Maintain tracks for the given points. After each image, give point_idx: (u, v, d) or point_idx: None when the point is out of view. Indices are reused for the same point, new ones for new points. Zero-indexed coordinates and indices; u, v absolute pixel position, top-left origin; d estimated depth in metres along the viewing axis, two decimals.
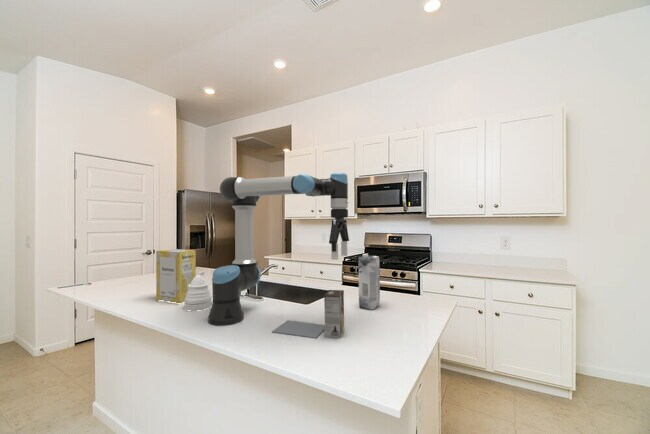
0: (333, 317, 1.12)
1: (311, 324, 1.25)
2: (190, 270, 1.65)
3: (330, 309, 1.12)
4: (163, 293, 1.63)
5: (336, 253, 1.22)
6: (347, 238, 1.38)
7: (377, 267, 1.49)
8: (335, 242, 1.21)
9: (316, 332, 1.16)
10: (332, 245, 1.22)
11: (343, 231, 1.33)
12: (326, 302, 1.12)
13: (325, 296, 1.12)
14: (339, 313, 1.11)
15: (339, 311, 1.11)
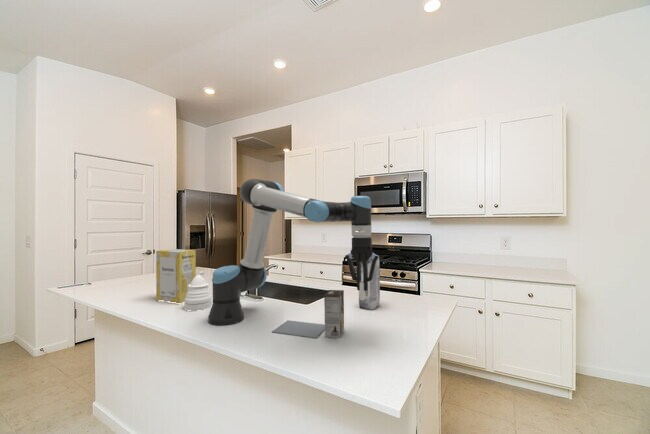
0: (333, 318, 1.12)
1: (311, 324, 1.25)
2: (190, 270, 1.65)
3: (330, 309, 1.12)
4: (163, 293, 1.63)
5: None
6: (368, 278, 1.11)
7: (377, 267, 1.49)
8: (356, 280, 1.12)
9: (316, 332, 1.16)
10: None
11: None
12: (326, 302, 1.12)
13: (325, 296, 1.12)
14: (339, 313, 1.11)
15: (339, 311, 1.11)
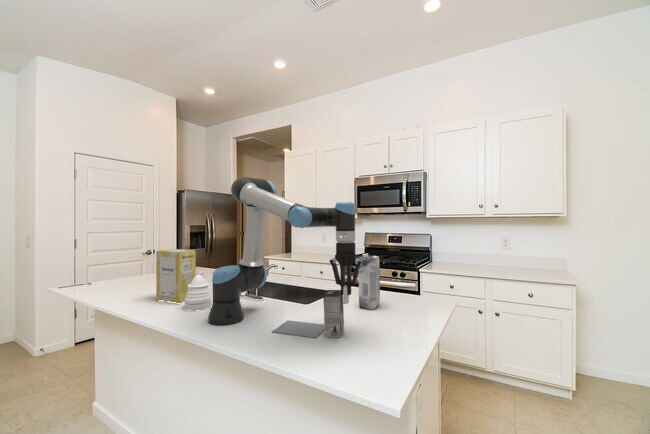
0: (333, 317, 1.12)
1: (311, 324, 1.25)
2: (190, 270, 1.65)
3: (329, 309, 1.12)
4: (163, 293, 1.63)
5: None
6: (351, 282, 1.13)
7: (377, 267, 1.49)
8: (340, 284, 1.15)
9: (316, 332, 1.16)
10: None
11: None
12: (325, 302, 1.12)
13: (324, 296, 1.12)
14: (338, 313, 1.12)
15: (338, 311, 1.12)
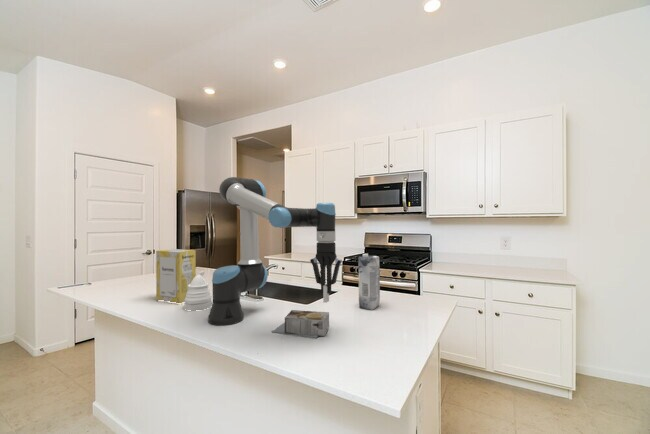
0: (305, 325, 1.14)
1: None
2: (190, 270, 1.65)
3: (297, 328, 1.15)
4: (163, 293, 1.63)
5: None
6: (331, 281, 1.16)
7: (377, 267, 1.49)
8: (320, 283, 1.17)
9: None
10: None
11: None
12: (291, 331, 1.15)
13: (285, 331, 1.16)
14: (300, 319, 1.15)
15: (299, 319, 1.15)
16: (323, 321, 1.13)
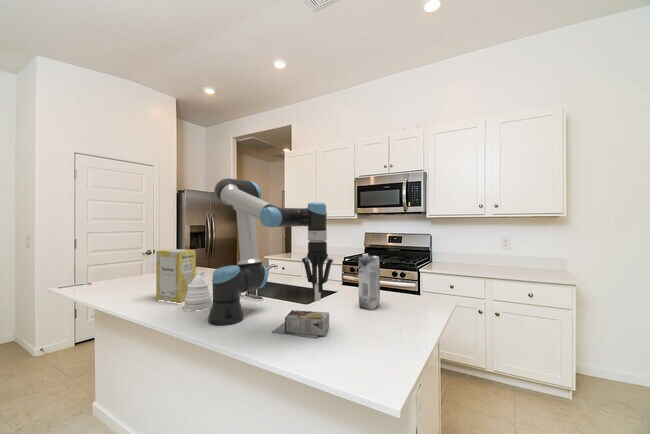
0: (305, 325, 1.14)
1: None
2: (190, 270, 1.65)
3: (297, 327, 1.15)
4: (163, 293, 1.63)
5: None
6: (322, 280, 1.17)
7: (377, 267, 1.49)
8: (312, 282, 1.19)
9: None
10: None
11: None
12: (291, 331, 1.15)
13: (285, 331, 1.16)
14: (301, 319, 1.15)
15: (299, 318, 1.15)
16: (323, 321, 1.13)
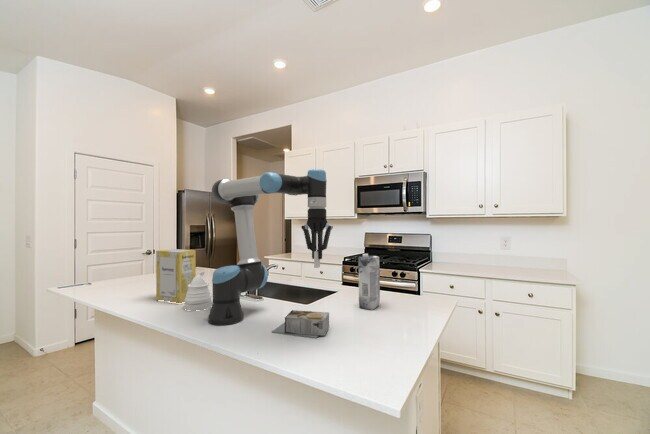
0: (305, 325, 1.14)
1: None
2: (190, 270, 1.65)
3: (297, 327, 1.15)
4: (163, 293, 1.63)
5: None
6: (322, 247, 1.17)
7: (377, 267, 1.49)
8: (311, 249, 1.19)
9: None
10: None
11: None
12: (291, 331, 1.15)
13: (285, 331, 1.16)
14: (301, 319, 1.15)
15: (299, 318, 1.15)
16: (323, 321, 1.13)
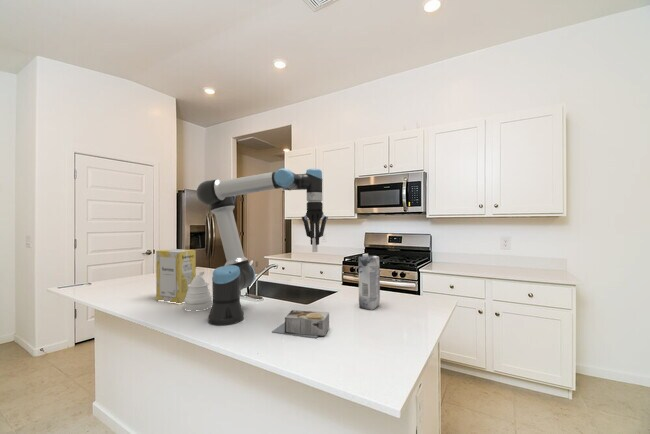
0: (305, 325, 1.14)
1: None
2: (190, 270, 1.65)
3: (297, 327, 1.15)
4: (163, 293, 1.63)
5: None
6: (319, 234, 1.39)
7: (377, 267, 1.49)
8: (310, 236, 1.40)
9: None
10: None
11: None
12: (291, 331, 1.15)
13: (285, 331, 1.16)
14: (301, 319, 1.15)
15: (299, 318, 1.15)
16: (323, 321, 1.13)
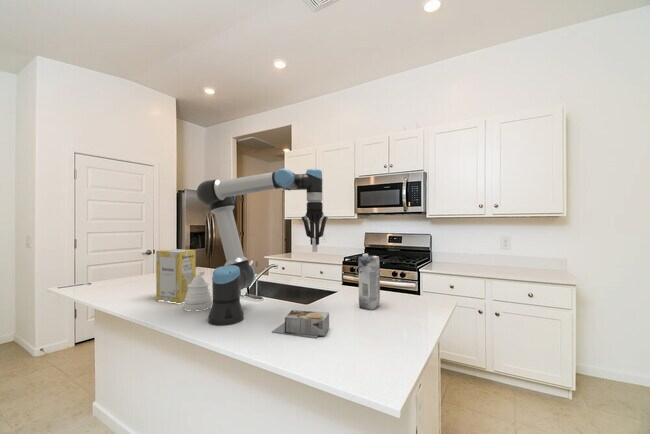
0: (305, 325, 1.14)
1: None
2: (190, 270, 1.65)
3: (297, 327, 1.15)
4: (163, 293, 1.63)
5: None
6: (319, 234, 1.39)
7: (377, 267, 1.49)
8: (310, 236, 1.41)
9: None
10: None
11: None
12: (291, 331, 1.15)
13: (285, 331, 1.16)
14: (301, 319, 1.15)
15: (299, 318, 1.15)
16: (323, 321, 1.13)
